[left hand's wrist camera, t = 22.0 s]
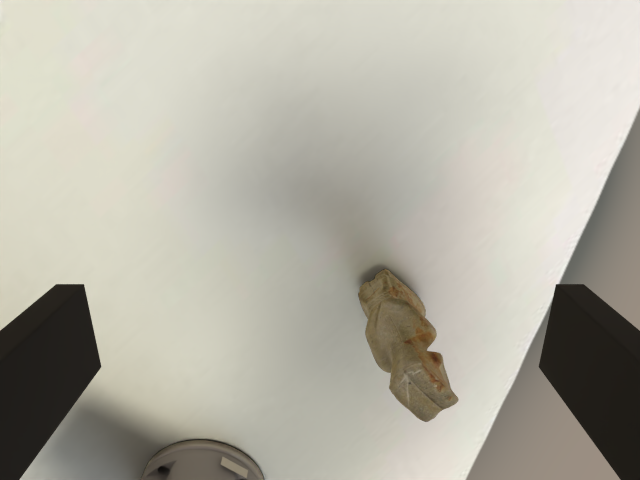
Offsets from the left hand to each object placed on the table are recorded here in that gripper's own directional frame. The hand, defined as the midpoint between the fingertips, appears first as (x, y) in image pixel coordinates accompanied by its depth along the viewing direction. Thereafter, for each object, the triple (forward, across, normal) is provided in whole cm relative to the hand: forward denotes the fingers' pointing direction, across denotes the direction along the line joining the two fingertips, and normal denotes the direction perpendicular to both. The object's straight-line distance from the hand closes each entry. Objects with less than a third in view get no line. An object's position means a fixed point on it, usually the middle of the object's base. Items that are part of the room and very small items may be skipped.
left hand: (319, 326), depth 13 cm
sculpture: (+31, -7, +15) cm, 35 cm away
